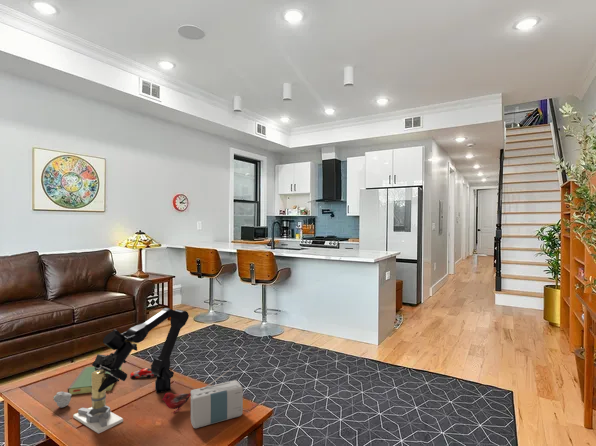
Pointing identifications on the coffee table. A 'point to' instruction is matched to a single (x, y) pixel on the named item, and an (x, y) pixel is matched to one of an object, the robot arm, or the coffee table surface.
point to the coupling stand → (97, 418)
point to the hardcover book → (85, 382)
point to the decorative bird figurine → (175, 400)
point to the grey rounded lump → (62, 399)
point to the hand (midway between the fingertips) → (95, 390)
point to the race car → (142, 373)
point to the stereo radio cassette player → (216, 403)
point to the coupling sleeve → (98, 397)
